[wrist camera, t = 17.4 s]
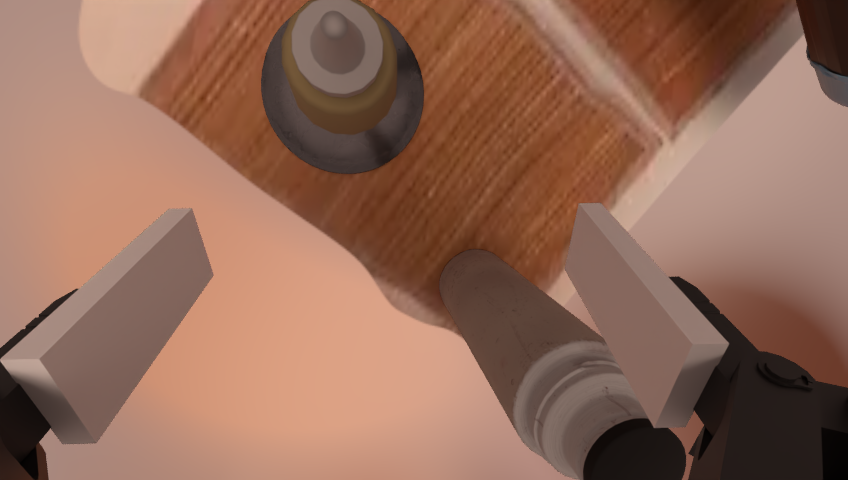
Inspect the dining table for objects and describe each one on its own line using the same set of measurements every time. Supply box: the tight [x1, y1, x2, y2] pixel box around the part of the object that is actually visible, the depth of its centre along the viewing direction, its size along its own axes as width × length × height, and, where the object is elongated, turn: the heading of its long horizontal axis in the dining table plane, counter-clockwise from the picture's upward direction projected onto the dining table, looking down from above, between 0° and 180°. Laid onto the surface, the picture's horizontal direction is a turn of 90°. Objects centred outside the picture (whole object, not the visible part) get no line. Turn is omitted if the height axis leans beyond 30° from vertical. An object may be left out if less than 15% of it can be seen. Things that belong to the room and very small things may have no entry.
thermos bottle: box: [439, 249, 686, 480], centre depth 32 cm, size 8×8×28 cm
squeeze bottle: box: [282, 0, 397, 135], centre depth 26 cm, size 8×8×18 cm
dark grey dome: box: [261, 13, 424, 174], centre depth 37 cm, size 15×15×5 cm
